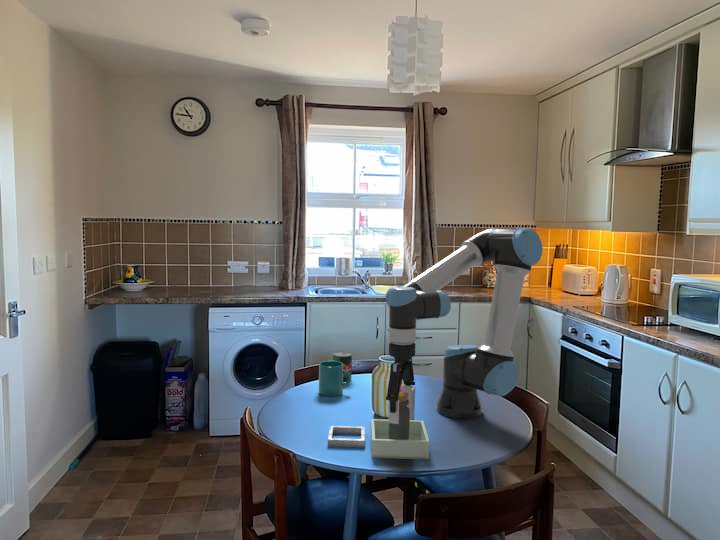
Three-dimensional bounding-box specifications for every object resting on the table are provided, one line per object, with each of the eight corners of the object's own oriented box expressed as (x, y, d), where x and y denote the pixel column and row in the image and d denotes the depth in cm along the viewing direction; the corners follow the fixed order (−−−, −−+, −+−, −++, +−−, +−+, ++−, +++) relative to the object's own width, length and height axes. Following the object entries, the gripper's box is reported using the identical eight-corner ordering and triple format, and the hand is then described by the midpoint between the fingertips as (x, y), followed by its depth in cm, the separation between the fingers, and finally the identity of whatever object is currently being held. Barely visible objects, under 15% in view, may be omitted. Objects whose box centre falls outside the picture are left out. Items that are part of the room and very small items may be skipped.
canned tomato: (344, 384, 211) (345, 357, 210) (328, 380, 215) (328, 354, 214) (355, 379, 218) (355, 353, 217) (338, 376, 222) (339, 350, 221)
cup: (348, 398, 194) (349, 368, 193) (316, 396, 196) (317, 366, 195) (351, 390, 203) (352, 361, 202) (321, 388, 204) (321, 360, 204)
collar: (364, 433, 162) (364, 426, 162) (364, 447, 151) (364, 440, 151) (330, 432, 162) (330, 425, 162) (327, 446, 151) (327, 439, 151)
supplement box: (414, 420, 173) (416, 386, 172) (410, 427, 168) (411, 391, 167) (397, 418, 175) (398, 384, 174) (392, 424, 169) (393, 389, 169)
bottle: (386, 447, 150) (387, 395, 149) (390, 439, 156) (392, 389, 155) (406, 450, 149) (408, 398, 148) (410, 442, 154) (412, 391, 153)
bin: (422, 436, 160) (423, 420, 160) (428, 459, 145) (429, 441, 144) (370, 435, 160) (371, 419, 160) (371, 457, 145) (372, 440, 144)
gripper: (401, 332, 163) (400, 399, 165) (375, 350, 140) (373, 428, 141) (425, 334, 160) (423, 402, 162) (402, 353, 137) (401, 432, 139)
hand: (400, 414), depth 152 cm, fingers open, 13 cm apart
